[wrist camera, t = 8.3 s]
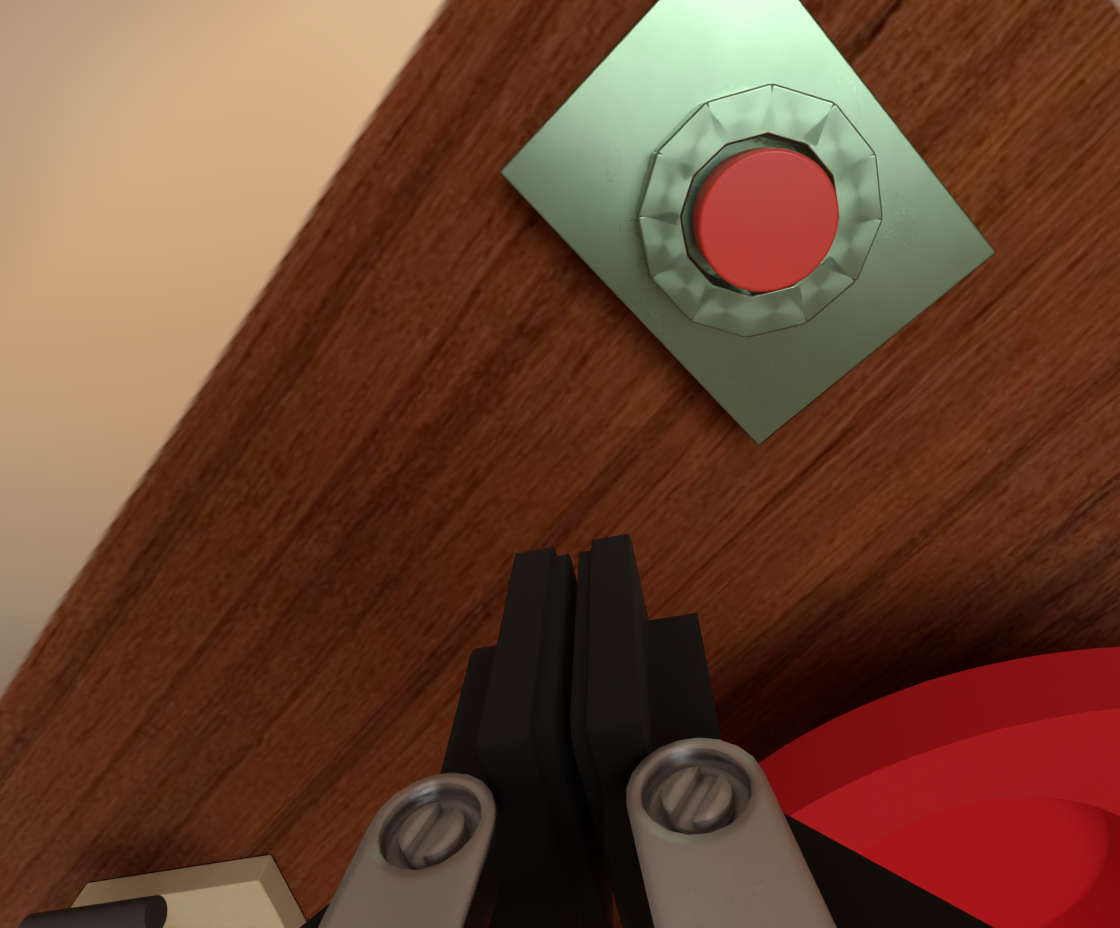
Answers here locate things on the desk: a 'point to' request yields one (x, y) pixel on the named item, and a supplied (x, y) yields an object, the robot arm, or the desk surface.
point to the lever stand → (210, 895)
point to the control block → (696, 150)
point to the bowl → (979, 787)
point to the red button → (765, 218)
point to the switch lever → (105, 915)
